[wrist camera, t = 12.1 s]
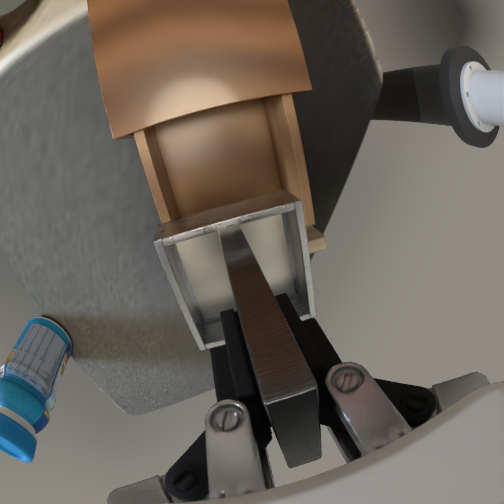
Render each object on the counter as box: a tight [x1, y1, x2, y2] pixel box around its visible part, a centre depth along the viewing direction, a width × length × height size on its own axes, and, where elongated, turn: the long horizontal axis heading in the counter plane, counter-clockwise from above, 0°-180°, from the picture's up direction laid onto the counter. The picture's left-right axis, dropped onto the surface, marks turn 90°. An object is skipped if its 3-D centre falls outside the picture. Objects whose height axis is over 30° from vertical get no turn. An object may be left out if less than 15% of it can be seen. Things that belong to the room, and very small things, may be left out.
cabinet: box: [87, 0, 312, 140], centre depth 17 cm, size 17×15×9 cm
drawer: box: [134, 93, 327, 254], centre depth 25 cm, size 20×13×7 cm, turn 13°
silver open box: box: [153, 190, 322, 468], centre depth 11 cm, size 7×7×11 cm
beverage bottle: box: [0, 317, 72, 462], centre depth 22 cm, size 8×8×20 cm
